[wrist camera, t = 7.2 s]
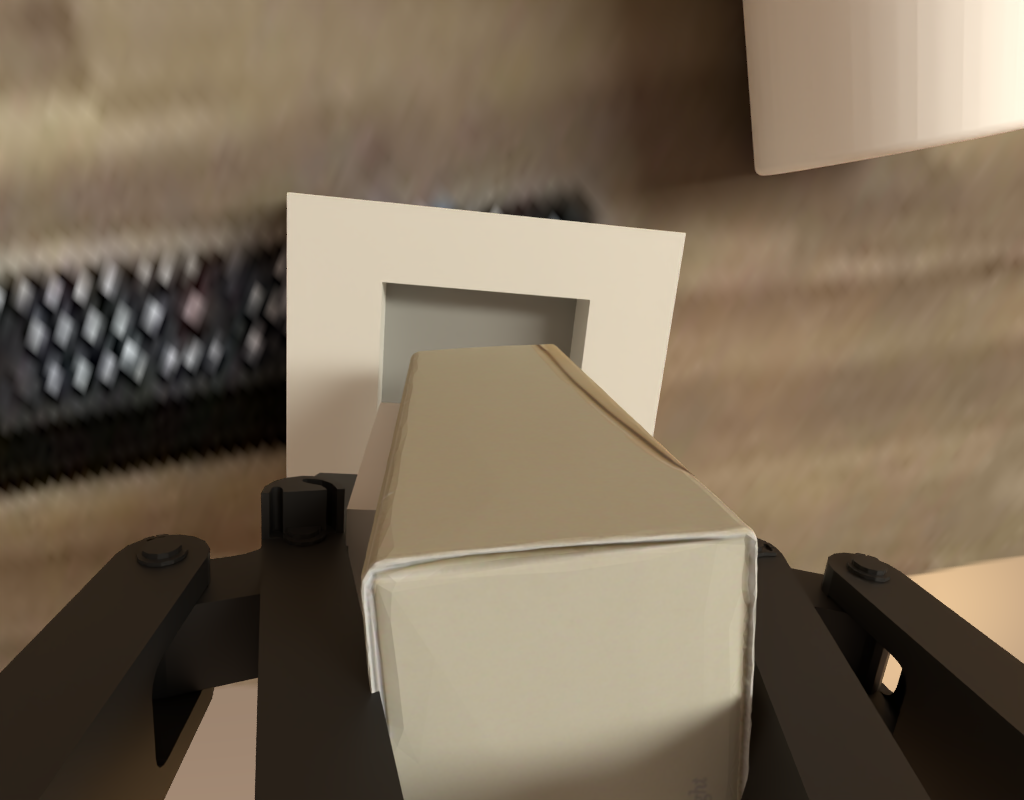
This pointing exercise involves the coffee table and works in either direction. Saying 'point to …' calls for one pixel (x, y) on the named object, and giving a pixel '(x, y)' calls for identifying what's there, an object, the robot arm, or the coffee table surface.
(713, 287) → the coffee table surface
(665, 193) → the coffee table surface
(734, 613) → the skincare box
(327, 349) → the socket block
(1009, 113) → the mug
